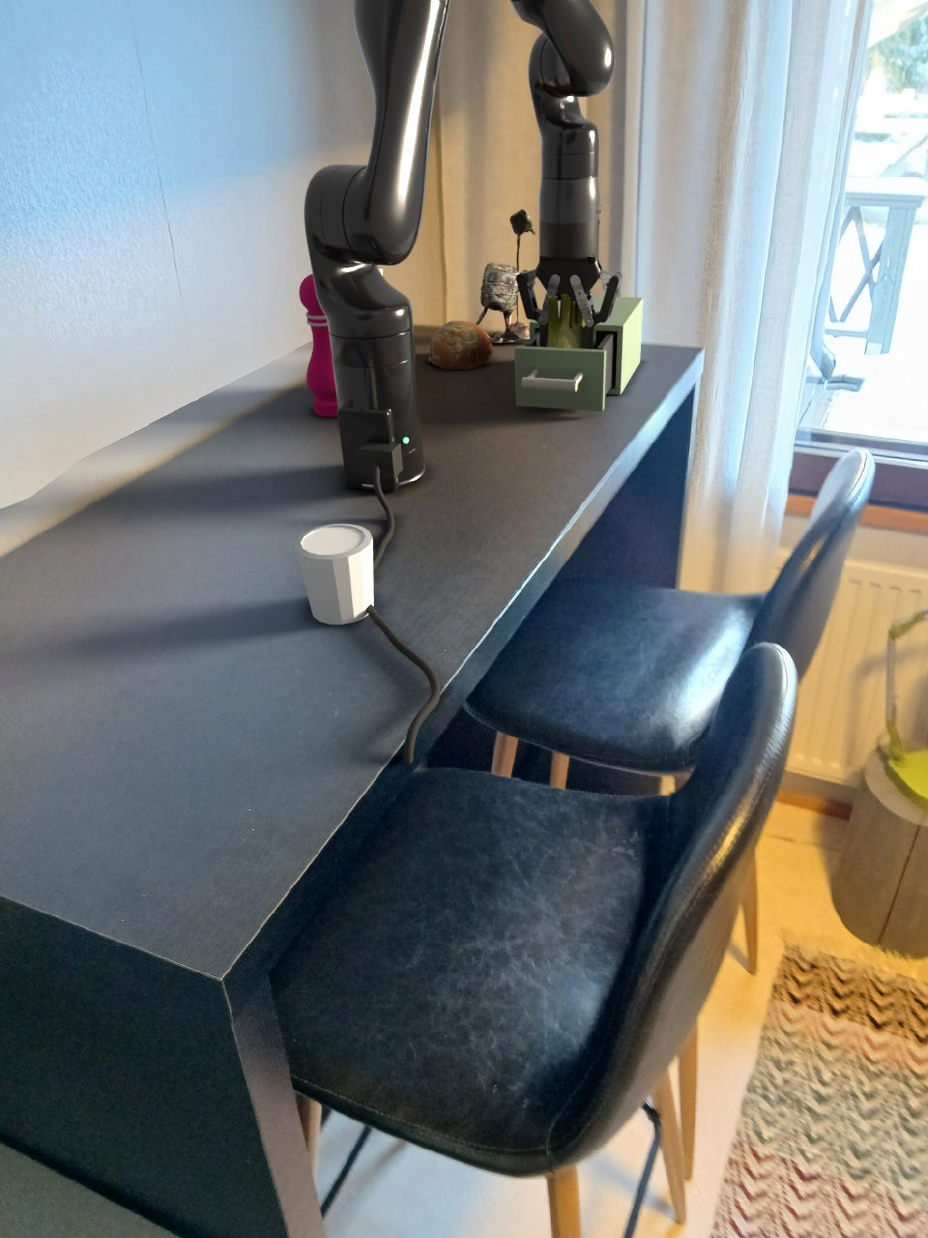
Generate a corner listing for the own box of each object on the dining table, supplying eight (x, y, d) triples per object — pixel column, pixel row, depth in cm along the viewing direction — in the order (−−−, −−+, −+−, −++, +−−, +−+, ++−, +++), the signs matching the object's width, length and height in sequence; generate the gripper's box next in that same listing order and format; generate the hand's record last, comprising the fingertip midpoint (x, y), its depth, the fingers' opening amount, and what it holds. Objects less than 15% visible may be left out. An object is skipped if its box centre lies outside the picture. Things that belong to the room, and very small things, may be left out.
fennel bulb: (547, 387, 125) (548, 295, 119) (543, 376, 129) (543, 286, 123) (590, 385, 125) (593, 292, 119) (585, 374, 129) (587, 284, 123)
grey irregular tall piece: (486, 330, 162) (481, 206, 152) (548, 334, 158) (548, 206, 148) (469, 343, 156) (463, 214, 145) (533, 347, 152) (532, 215, 141)
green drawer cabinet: (620, 395, 130) (623, 325, 125) (530, 389, 134) (529, 322, 129) (640, 362, 143) (643, 297, 138) (556, 357, 147) (556, 294, 141)
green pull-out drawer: (593, 426, 118) (595, 365, 114) (503, 419, 122) (502, 360, 118) (623, 377, 134) (625, 322, 130) (543, 373, 138) (542, 319, 133)
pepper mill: (359, 417, 128) (342, 264, 117) (307, 419, 128) (285, 267, 118) (365, 400, 134) (349, 253, 123) (315, 402, 134) (295, 255, 124)
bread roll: (434, 376, 153) (411, 334, 148) (487, 342, 153) (465, 299, 148) (452, 394, 145) (427, 351, 140) (507, 358, 145) (485, 313, 140)
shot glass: (343, 582, 89) (334, 515, 85) (395, 603, 85) (388, 534, 82) (289, 613, 85) (277, 544, 81) (342, 636, 81) (331, 566, 77)
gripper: (505, 220, 115) (508, 357, 124) (620, 220, 111) (615, 363, 120) (522, 210, 121) (523, 342, 130) (632, 210, 117) (626, 347, 126)
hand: (567, 351), depth 125 cm, fingers closed on fennel bulb, 4 cm apart
